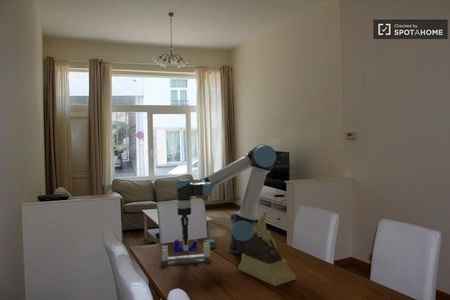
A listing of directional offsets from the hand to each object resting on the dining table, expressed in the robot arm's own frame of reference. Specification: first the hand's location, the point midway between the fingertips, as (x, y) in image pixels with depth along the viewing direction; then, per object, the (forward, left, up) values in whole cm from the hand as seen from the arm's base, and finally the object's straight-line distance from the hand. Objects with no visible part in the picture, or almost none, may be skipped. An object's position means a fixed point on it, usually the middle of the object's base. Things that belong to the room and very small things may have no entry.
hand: (185, 248), depth 214 cm
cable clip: (0, 0, -1) cm, 1 cm away
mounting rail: (0, 0, -6) cm, 6 cm away
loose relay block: (-16, -22, -7) cm, 28 cm away
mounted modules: (0, 0, -4) cm, 4 cm away
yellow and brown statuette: (-37, +32, -7) cm, 49 cm away
